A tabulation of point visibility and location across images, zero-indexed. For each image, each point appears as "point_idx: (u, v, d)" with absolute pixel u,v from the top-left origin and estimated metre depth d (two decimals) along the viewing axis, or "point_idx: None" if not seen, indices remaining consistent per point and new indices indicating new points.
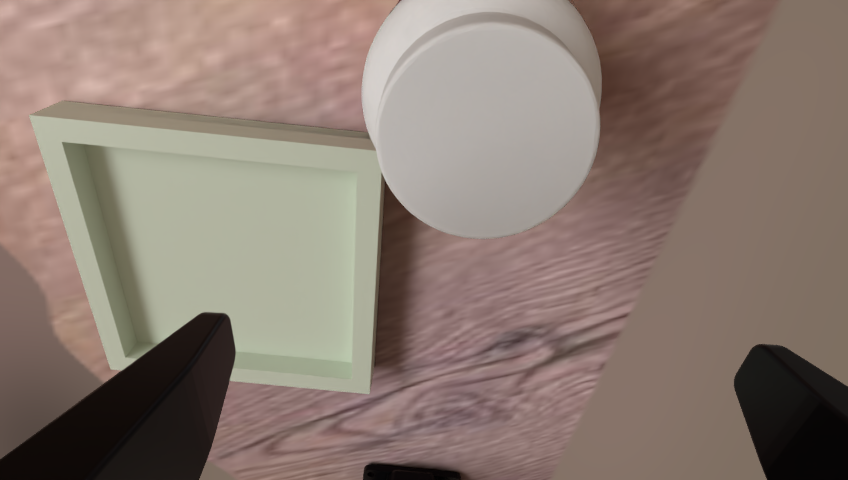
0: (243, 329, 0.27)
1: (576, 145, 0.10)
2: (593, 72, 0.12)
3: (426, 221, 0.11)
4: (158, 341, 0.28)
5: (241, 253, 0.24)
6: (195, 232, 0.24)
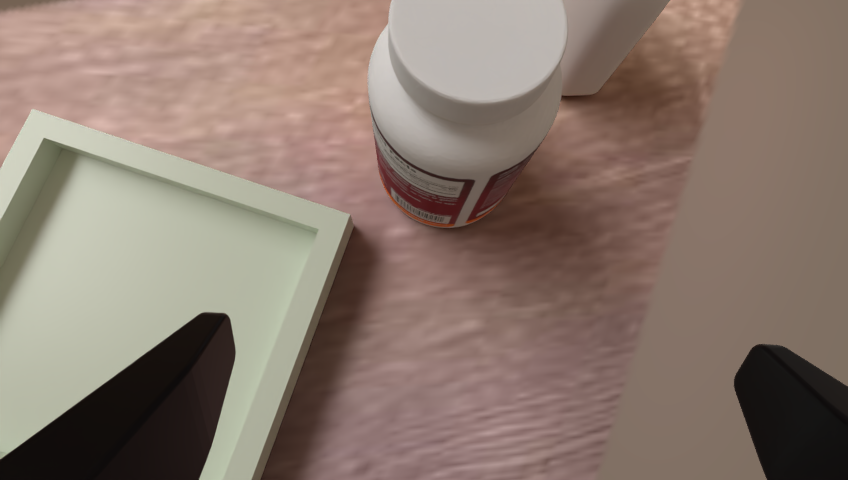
0: None
1: (550, 36, 0.13)
2: None
3: (416, 74, 0.12)
4: None
5: (146, 313, 0.21)
6: (108, 276, 0.21)
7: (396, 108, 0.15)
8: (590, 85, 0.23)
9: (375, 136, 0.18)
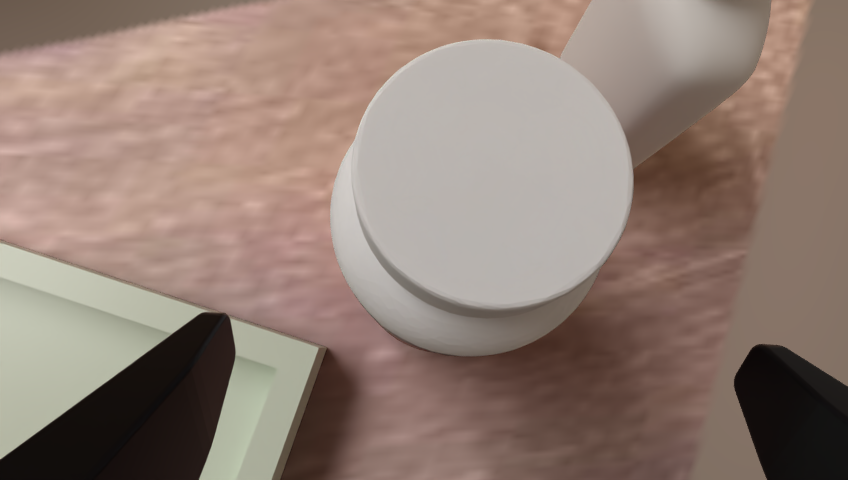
0: None
1: (606, 191, 0.08)
2: None
3: (394, 260, 0.08)
4: None
5: None
6: (5, 428, 0.16)
7: (369, 270, 0.10)
8: None
9: None
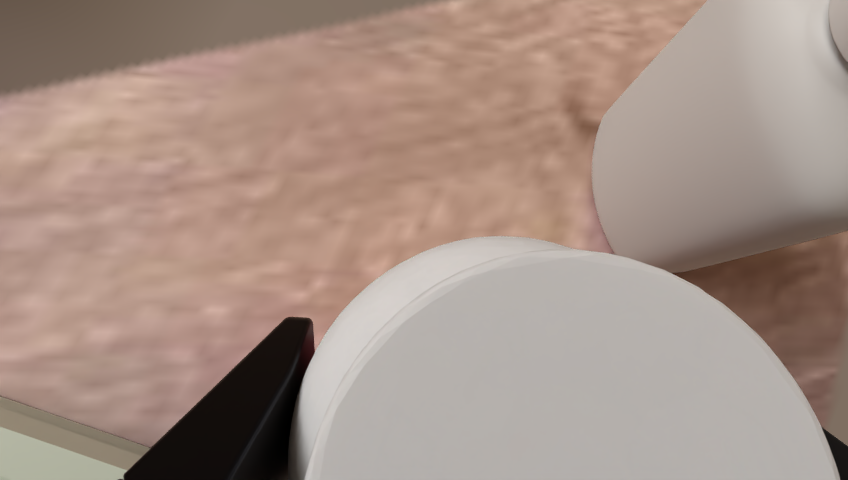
0: None
1: None
2: None
3: None
4: None
5: None
6: None
7: None
8: (685, 269, 0.15)
9: None
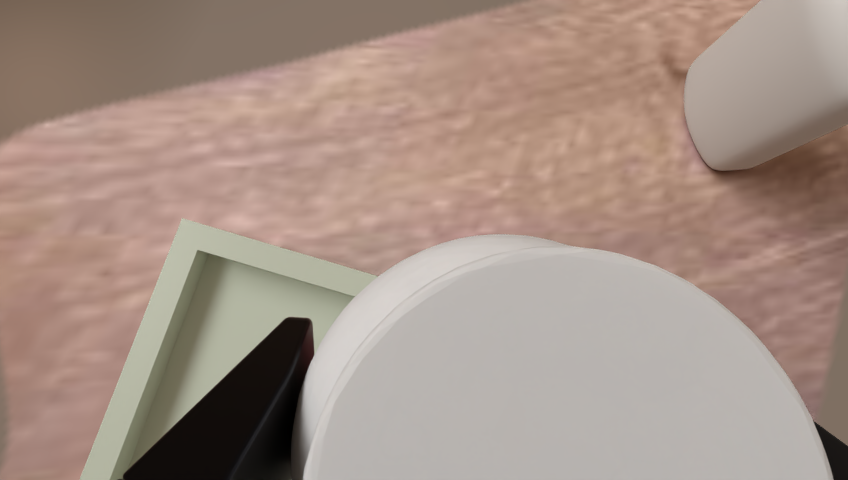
0: None
1: None
2: None
3: None
4: None
5: None
6: None
7: None
8: (755, 163, 0.22)
9: None
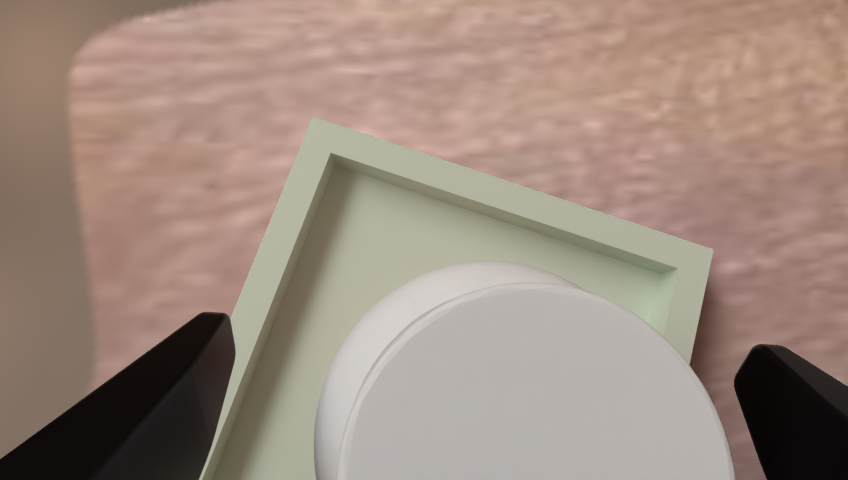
0: None
1: None
2: None
3: None
4: None
5: None
6: None
7: None
8: None
9: None
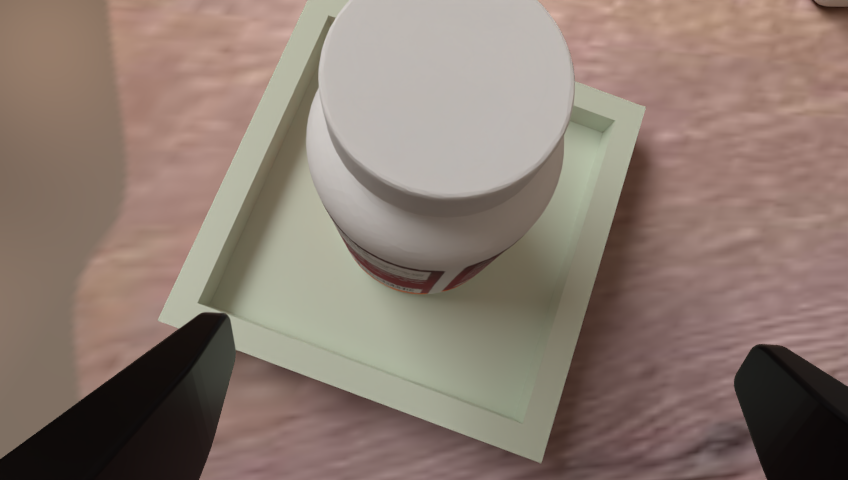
0: (377, 318, 0.19)
1: (548, 101, 0.09)
2: None
3: (352, 151, 0.09)
4: (242, 311, 0.19)
5: None
6: None
7: (338, 180, 0.11)
8: None
9: None
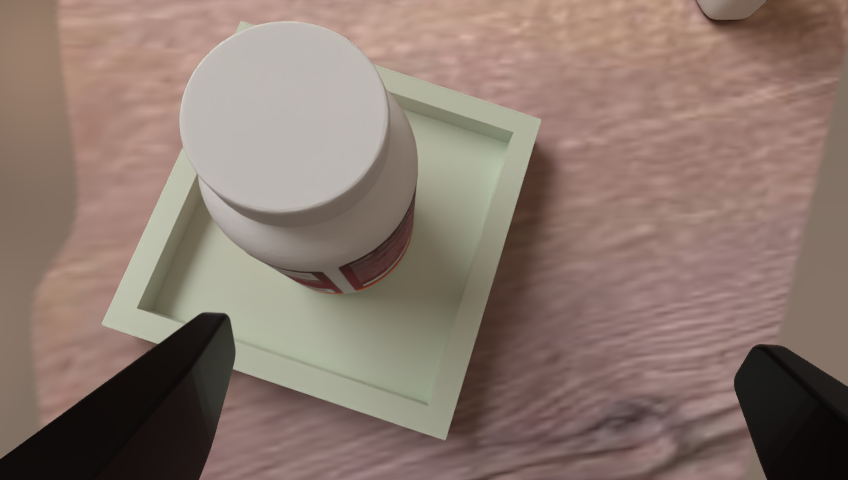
0: (303, 317, 0.21)
1: (365, 131, 0.11)
2: (406, 143, 0.14)
3: (205, 178, 0.11)
4: (180, 315, 0.21)
5: None
6: None
7: (218, 199, 0.13)
8: (749, 7, 0.25)
9: None
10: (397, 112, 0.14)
